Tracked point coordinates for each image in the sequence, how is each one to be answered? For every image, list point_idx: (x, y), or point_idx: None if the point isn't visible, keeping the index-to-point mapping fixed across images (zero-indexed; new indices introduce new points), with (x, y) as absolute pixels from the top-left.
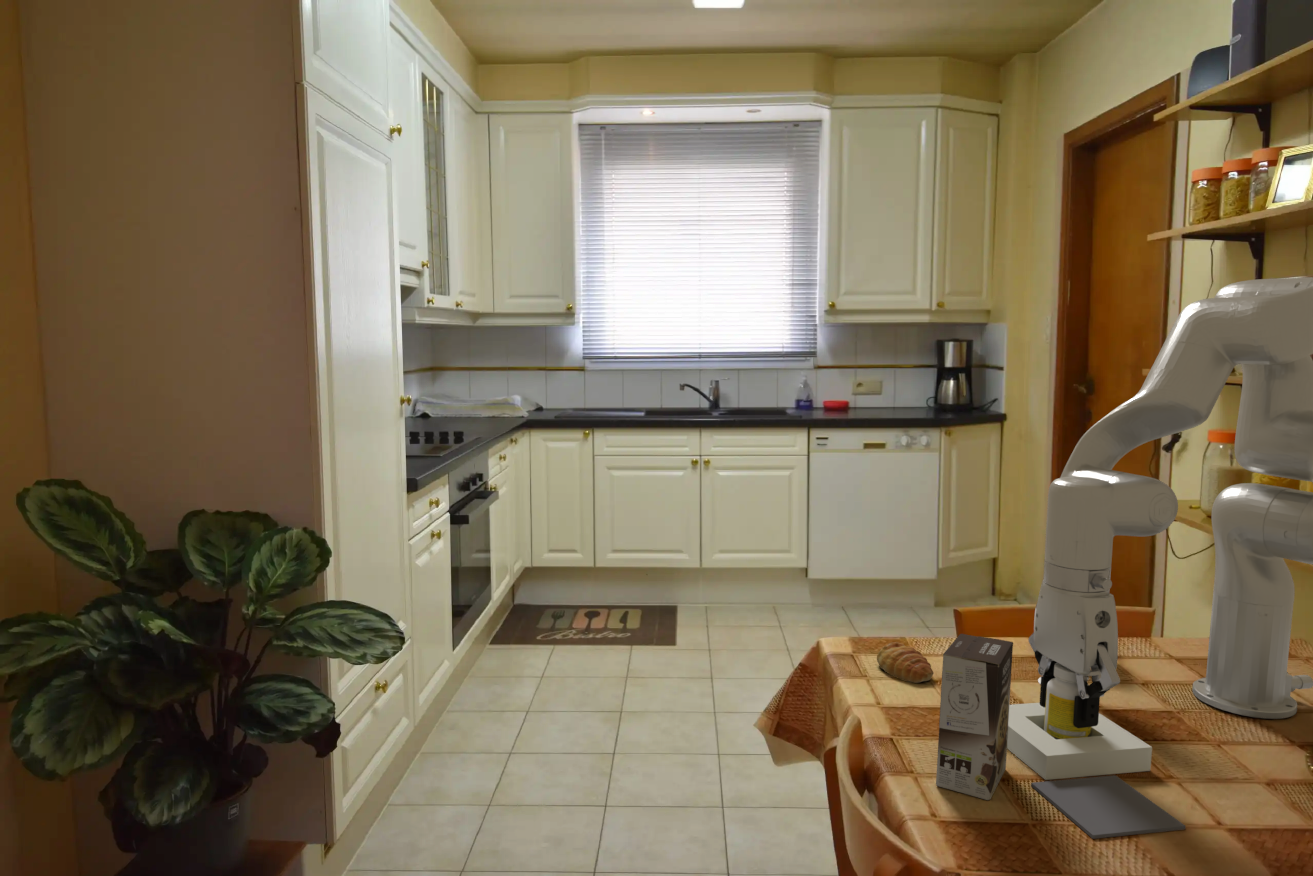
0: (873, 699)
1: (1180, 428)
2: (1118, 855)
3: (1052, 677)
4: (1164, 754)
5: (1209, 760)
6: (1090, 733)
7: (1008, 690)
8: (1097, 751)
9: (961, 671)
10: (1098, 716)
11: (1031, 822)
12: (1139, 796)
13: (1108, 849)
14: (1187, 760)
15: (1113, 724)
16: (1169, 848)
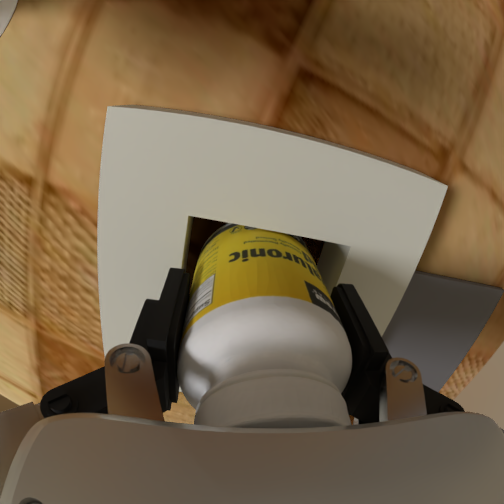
0: (22, 391)
1: None
2: (460, 382)
3: (169, 386)
4: (379, 56)
5: (430, 5)
6: (304, 245)
7: None
8: (388, 323)
9: None
10: (361, 299)
11: None
12: (450, 289)
13: (451, 385)
14: (417, 42)
15: (313, 153)
16: (493, 332)
